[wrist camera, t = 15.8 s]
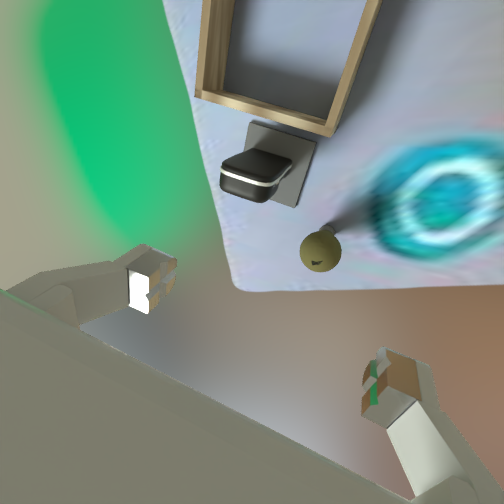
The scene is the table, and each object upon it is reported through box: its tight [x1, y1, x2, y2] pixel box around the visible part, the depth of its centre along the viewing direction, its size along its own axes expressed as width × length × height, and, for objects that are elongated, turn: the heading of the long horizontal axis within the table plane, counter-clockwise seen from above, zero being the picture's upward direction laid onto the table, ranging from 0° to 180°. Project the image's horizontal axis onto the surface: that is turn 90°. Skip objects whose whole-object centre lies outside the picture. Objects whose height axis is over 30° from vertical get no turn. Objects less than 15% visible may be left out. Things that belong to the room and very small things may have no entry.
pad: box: [244, 122, 316, 208], centre depth 42 cm, size 10×10×1 cm
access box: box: [194, 0, 383, 137], centre depth 32 cm, size 18×16×6 cm
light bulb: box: [300, 225, 342, 272], centre depth 41 cm, size 6×6×10 cm
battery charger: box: [220, 148, 292, 203], centre depth 38 cm, size 7×4×11 cm, turn 79°
